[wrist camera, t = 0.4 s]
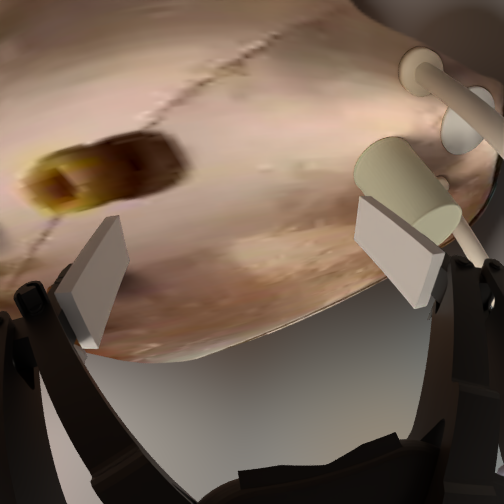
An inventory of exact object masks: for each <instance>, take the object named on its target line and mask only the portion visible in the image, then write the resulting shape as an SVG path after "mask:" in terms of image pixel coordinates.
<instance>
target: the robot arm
mask: <svg viewBox="0 0 504 504" xmlns="http://www.w3.org/2000/svg"><path fill="white" fill-rule="evenodd" d="M354 240H355V241H356V242H357V243H358V244H359V246H360V247H361V248H362V249H363V250H364V251H365V252H366V253H367V254H368V255H369V257H370V258H371V259H372V260H373V261H374V262H375V263H376V264H377V265H378V267H379V268H380V269H381V270H382V271H383V272H384V273H385V275H386V276H387V277H388V278H389V279H390V280H391V282H392V283H393V284H394V285H395V286H396V287H397V289H398V290H399V291H400V292H401V293H402V294H403V296H404V297H405V298H406V299H407V301H408V302H409V303H410V304H411V306H412V307H413V308H414V309H417V308H421V307H425V306H427V304H428V301H429V299H430V296H431V295H432V296H433V297H434V298H435V299H436V300H435V302H434V304H433V307H432V309H431V312H430V314H429V317H428V319H427V320H429V319H430V318H431V317H432V322H431V332H430V342H429V350H428V357H427V363H426V370H425V376H424V381H423V387H422V392H421V396H420V401H419V405H418V409H417V414H416V418H415V421H414V425H413V428H412V431H411V433H410V435H409V436H408V438H407V439H402V440H401V439H400V440H399V438H398V436H397V434H396V432H394V433H392V434H390V435H387V436H384V437H381V438H379V439H376V440H373V441H371V442H367V443H365V444H362V445H360V446H359V447H357V448H356V449H354V450H352V451H351V452H349V453H347V454H345V455H344V456H342V457H340V458H338V459H337V460H335V461H333V462H331V463H329V464H327V465H319V466H318V465H317V466H316V465H315V466H292V465H278V466H272V467H266V468H260V469H252V470H243V471H238V475H239V478H238V479H235V480H232V481H229V482H227V483H225V484H223V485H221V486H219V487H217V488H216V489H214V490H212V491H211V492H210V493H208V494H207V495H205V496H204V497H203V498H202V499H201V500H200V501H199V502H197V501H196V500H195V499H193V498H192V497H191V496H190V495H189V494H188V493H187V492H186V491H185V490H184V489H182V488H181V487H180V486H179V485H178V484H177V483H176V482H175V481H174V480H173V479H172V478H171V477H170V476H169V475H168V474H167V473H166V472H165V471H164V470H163V469H162V468H161V467H160V466H159V465H158V464H157V462H156V461H155V460H154V459H153V458H152V457H151V456H150V455H149V453H147V451H146V450H145V449H144V448H143V447H142V445H141V444H140V443H139V442H138V441H137V439H136V438H135V437H134V436H133V435H132V433H131V432H130V431H129V429H128V428H127V427H126V425H125V424H124V423H123V422H122V420H121V419H120V418H119V417H118V415H117V413H116V412H115V411H114V409H113V408H112V407H111V405H110V404H109V402H108V401H107V399H106V398H105V396H104V395H103V393H102V392H101V390H100V389H99V387H98V386H97V384H96V383H95V381H94V379H93V378H92V376H91V375H90V373H89V371H88V370H87V368H86V366H85V365H84V363H83V361H82V360H81V358H80V356H79V354H78V352H77V351H76V349H75V347H74V343H75V341H76V338H77V340H78V342H79V344H80V345H81V347H82V349H98V348H99V345H100V342H101V338H102V335H103V332H104V329H105V326H106V323H107V320H108V317H109V314H110V311H111V309H112V306H113V303H114V300H115V297H116V295H117V292H118V289H119V287H120V284H121V281H122V279H123V276H124V274H125V271H126V269H127V266H128V264H129V261H130V259H129V255H128V251H127V247H126V243H125V239H124V235H123V231H122V226H121V222H120V217H119V215H117V216H110V217H106V218H105V219H104V221H103V222H102V223H101V225H100V226H99V227H98V229H97V230H96V231H95V233H94V234H93V235H92V237H91V238H90V239H89V241H88V242H87V244H86V245H85V246H84V248H83V249H82V251H81V252H80V254H79V255H78V257H77V258H76V260H75V261H74V263H72V264H69V265H68V266H67V267H66V268H64V269H63V270H62V272H61V273H60V275H59V276H58V278H57V279H56V281H55V282H54V284H53V285H52V287H51V289H50V290H49V292H48V293H46V291H45V289H44V287H43V284H42V283H41V282H40V281H31V282H28V283H26V284H24V285H23V286H21V287H20V288H19V289H18V290H17V291H16V293H15V294H14V301H15V303H16V305H17V307H18V309H19V310H20V312H21V314H22V316H23V317H22V318H18V319H15V320H12V319H11V317H10V315H9V314H8V313H7V312H6V311H1V312H0V504H67V503H66V500H65V497H64V494H63V492H62V489H61V485H60V483H59V479H58V476H57V472H56V469H55V465H54V461H53V457H52V453H51V449H50V445H49V440H48V435H47V429H46V424H45V419H44V412H43V405H42V397H41V388H40V377H39V371H40V374H41V376H42V379H43V382H44V384H45V386H46V389H47V391H48V394H49V396H50V398H51V401H52V403H53V405H54V408H55V410H56V412H57V414H58V416H59V418H60V420H61V422H62V424H63V426H64V428H65V430H66V432H67V434H68V436H69V438H70V440H71V441H72V443H73V445H74V447H75V449H76V450H77V452H78V454H79V455H80V457H81V459H82V461H83V462H84V464H85V465H86V467H87V468H88V470H89V471H90V474H91V475H92V480H91V485H92V487H93V489H94V491H95V492H96V494H97V496H98V497H99V498H100V500H101V501H102V502H103V504H504V465H503V466H501V467H500V468H499V469H498V472H497V473H495V467H496V460H497V453H498V443H499V448H500V452H501V457H502V460H503V463H504V266H503V265H502V264H501V263H500V262H499V261H497V260H495V259H490V258H487V259H485V260H484V263H483V266H482V268H478V267H475V266H474V264H473V263H472V262H471V261H470V260H468V259H466V258H465V257H462V256H457V255H455V256H452V257H451V256H449V255H448V254H447V253H446V252H445V251H443V250H442V249H441V248H440V247H439V246H437V245H436V244H435V243H434V242H433V241H431V240H430V239H429V238H428V237H426V236H425V235H423V234H422V233H420V232H419V231H418V230H417V229H415V228H414V227H413V226H411V225H410V224H409V223H408V222H406V221H405V220H404V219H402V218H401V217H400V216H398V215H397V214H395V213H394V212H393V211H391V210H390V209H389V208H387V207H386V206H384V205H383V204H382V203H380V202H379V201H377V200H376V199H374V198H373V197H372V196H359V205H358V213H357V221H356V228H355V235H354ZM493 300H495V302H494V306H493V308H492V309H491V307H490V306H491V304H492V302H493Z"/></svg>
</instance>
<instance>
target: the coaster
mask: <svg viewBox="0 0 504 504" xmlns="http://www.w3.org/2000/svg"><path fill="white" fill-rule="evenodd" d="M468 89H469V90H471V91H472V92H473V93H475V94H476V95H477V96H479V97H480V98H481V99H482V100H484V101H485V102H486V103H487V104H489V105H490V106H491V107H492V108H493V109H495V105H494V100H493V98H492V96H491V94H490V93H489V92H488V91H487V90H486V89H484V88H483V87H480V86H472V87H469V88H468ZM483 139H484V138H483V137H482V136H481V135H480V134H479V133H478V132H477V131H476V130H474V129H473V128H472V127H471V126H470V125H469V124H468V123H467V122H466V121H465V120H463V119H462V118H461V117H460V116H459V115H458V114H457V113H455V112H454V111H453V110H452V109H451V108H449V107H448V108H447V110H446V112H445V115H444V117H443V121H442V125H441V141H442V144H443V146H444V147H445V148H446V149H447V150H448V151H449V152H450V153H452V154H455V155H461V154H465V153H467V152H469V151H471V150H473V149H474V148H475V147H476V146H478V145H479V144H480V143H481V141H482V140H483Z"/></svg>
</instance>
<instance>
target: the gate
mask: <svg viewBox="0 0 504 504" xmlns="http://www.w3.org/2000/svg"><path fill="white" fill-rule="evenodd" d="M398 75H399V80H400V82H401V84H402V86H403V87H404V88H405V89H406V90H407V91H409V92H410V93H411V94H413V95H415V96H418V97H424V96H428V95H430V94H431V93H432V94H433V95H434V96H436V97H437V98H438V99H439V100H441V101H442V102H443V103H444V104H446V105H447V106H448V107H449V108H451V109H452V110H453V111H454V112H455V113H457V114H458V115H459V116H460V117H461V118H462V119H463V120H465V121H466V122H467V123H468V124H469V125H470V126H471V127H472V128H473V129H474V130H476V131H477V132H478V133H479V134H480V135H481V136H482V137H483V138H484V139H485V140H486V141H487V142H488V143H489V144H490V145H491V146H492V147H493V148H494V149H495V150H496V151H497V153H498V154H499V155H500V156H501V157H502V158H503V159H504V117H503V116H501V115H500V114H499V113H498V112H497V111H496V110H495V109H493V108H492V107H491V106H490V105H489V104H487V103H486V102H485V101H484V100H482V99H481V98H480V97H479V96H477V95H476V94H475V93H473V92H472V91H471V90H469V89H468V88H467V87H465V86H464V85H462V84H461V83H460V82H458V81H457V80H455V79H454V78H452V77H451V76H449V75H448V74H446V73H445V72H443V64H442V61H441V59H440V57H439V56H438V55H437V54H436V53H435V52H433V51H431V50H429V49H427V48H425V47H414V48H412V49H410V50H409V51H407V52H406V53H405V54H404V56H403V57H402V59H401V61H400V64H399V69H398ZM436 178H437V179H438V180H439V181H440V183H441V184H442V185H443V186H444V187H445V189H446V190H447V191H448V189H449V183H448V182H447V180H446V179H445V178H444V177H442V176H438V177H436ZM452 233H453V235H454V236H455V238H456V239H457V241H458V243H459V244H460V246H461V247H462V249H463V251H464V253H465V254H466V256H467V258H468V260H470V261H471V262H472V263H473V264H474V266H475V267H478V268H482V266H483V263H484V260H485V259H487V258H489V257H488V256H487V254H486V252H485V250H484V249H483V247H482V245H481V244H480V242H479V241H478V239H477V237H476V236H475V234H474V233H473V231H472V230H471V228H470V226H469V225H468V223H467V222H466V220H465V219H464V218H463V216H461V219H460V222H459V224H458V225H457V227H456V228H455V230H454V231H453V232H452ZM494 302H495V300H493V302H492V304H491V305H492V307H493V306H494Z"/></svg>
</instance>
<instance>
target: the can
mask: <svg viewBox="0 0 504 504" xmlns="http://www.w3.org/2000/svg"><path fill="white" fill-rule="evenodd" d="M354 180H355V183H356V185H357V186H358V187H359V188H360V189H361V190H362V192H363V193H364V195H365V196H372V197H373V198H374V199H376V200H377V201H379V202H380V203H382V204H383V205H384V206H386V207H387V208H389V209H390V210H391V211H393V212H394V213H395V214H397V215H398V216H400V217H401V218H402V219H404V220H405V221H406V222H408V223H409V224H410V225H411V226H413V227H414V228H415V229H417V230H418V231H419V232H420V233H422V234H423V235H425V236H426V237H428V238H429V239H430V240H431V241H433V242H434V243H435V244H436V245H437V246H438V245H439V244H441V243H442V242H443V241H444V240H445V239H446V238H447V237H448V236H449V235H450V234H451V233H452V232H453V231H454V230H455V228H456V227H457V225H458V224H459V222H460V219H461V216H462V210H461V207H460V206H459V205H458V204H457V203H456V201H455V200H454V199H453V198H452V196H451V195H450V194H449V193H448V191H447V190H446V189H445V187H444V186H443V185H442V184H441V183H440V181H439V180H438V179H437V178H436V176H435V175H434V174H433V173H432V172H431V170H430V169H429V168H428V167H427V166H426V165H425V163H424V162H423V161H422V160H421V159H420V158H419V156H418V155H417V154H416V153H415V152H414V151H413V149H412V148H411V147H410V145H409V144H408V143H407V142H406V141H405V140H403V139H401V138H398V137H388V138H384V139H381V140H379V141H377V142H375V143H373V144H372V145H371V146H369V147H368V148H367V149H366V150H365V151H364V152H363V153H362V155H361V156H360V157H359V159H358V161H357V163H356V165H355V168H354Z"/></svg>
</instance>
